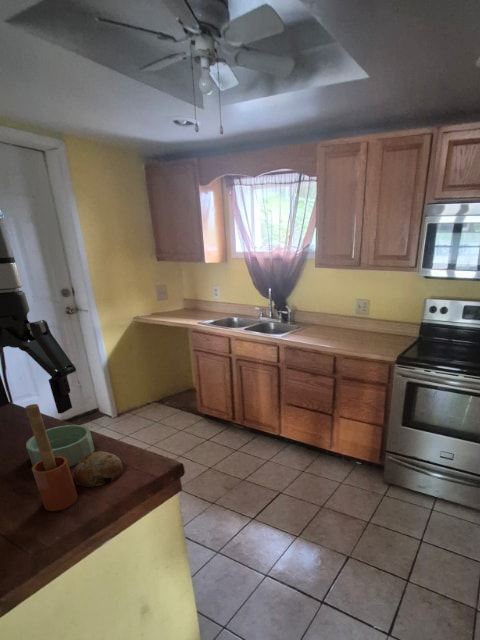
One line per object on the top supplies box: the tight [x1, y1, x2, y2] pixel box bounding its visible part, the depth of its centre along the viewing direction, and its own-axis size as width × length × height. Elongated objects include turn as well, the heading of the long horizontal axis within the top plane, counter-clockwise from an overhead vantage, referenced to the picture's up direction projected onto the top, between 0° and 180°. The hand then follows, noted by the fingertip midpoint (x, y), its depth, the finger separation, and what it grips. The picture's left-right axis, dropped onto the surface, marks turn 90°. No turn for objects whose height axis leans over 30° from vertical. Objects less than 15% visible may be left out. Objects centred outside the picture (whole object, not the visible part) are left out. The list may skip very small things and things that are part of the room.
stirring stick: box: [25, 403, 57, 471], centre depth 74 cm, size 3×2×22 cm, turn 81°
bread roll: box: [73, 451, 124, 488], centre depth 86 cm, size 10×10×8 cm
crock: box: [31, 456, 79, 512], centre depth 76 cm, size 6×6×10 cm
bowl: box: [25, 424, 95, 468], centre depth 94 cm, size 14×14×6 cm
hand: (33, 408), depth 69 cm, fingers open, 13 cm apart
